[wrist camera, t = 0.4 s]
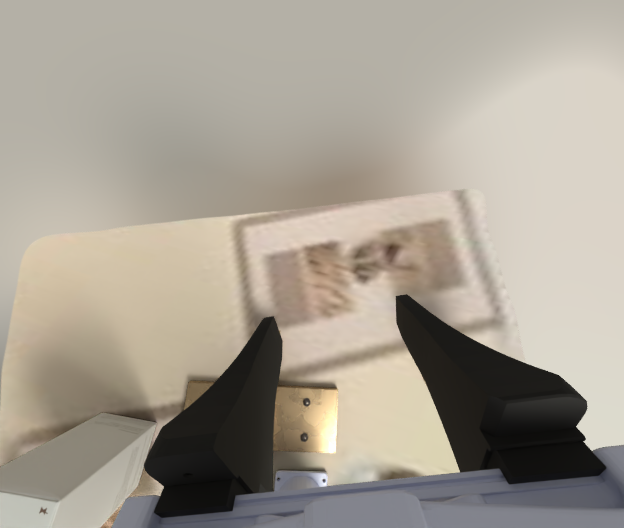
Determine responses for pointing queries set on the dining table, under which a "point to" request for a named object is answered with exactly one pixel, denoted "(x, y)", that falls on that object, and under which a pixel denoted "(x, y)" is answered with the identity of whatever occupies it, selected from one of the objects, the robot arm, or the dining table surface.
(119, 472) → the supplement box
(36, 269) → the dining table surface
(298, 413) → the hinge
